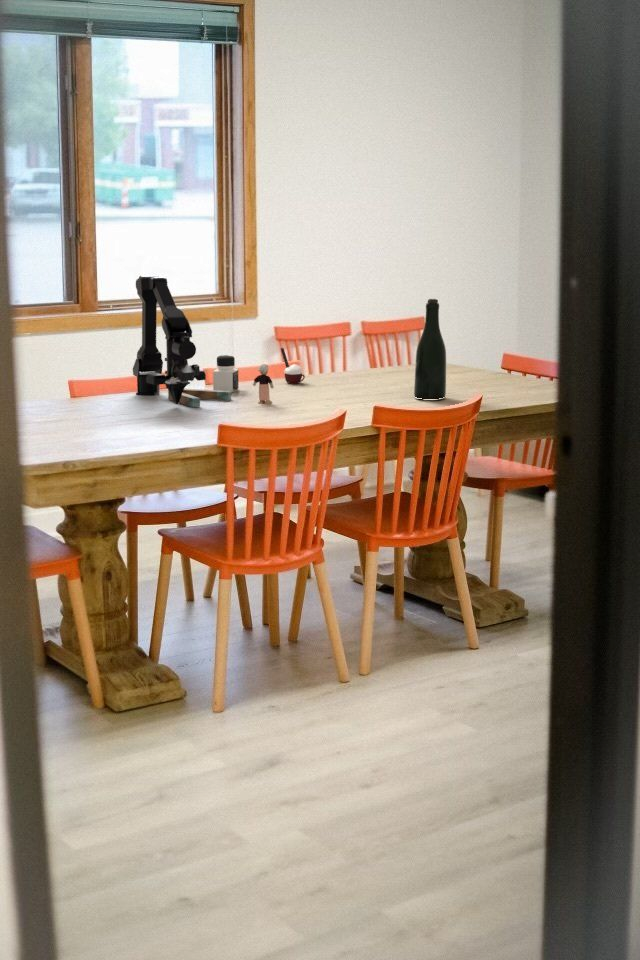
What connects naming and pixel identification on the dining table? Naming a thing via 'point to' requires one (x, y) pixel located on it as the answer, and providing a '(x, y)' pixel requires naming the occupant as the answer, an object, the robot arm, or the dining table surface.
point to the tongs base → (208, 394)
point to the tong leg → (188, 400)
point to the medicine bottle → (225, 374)
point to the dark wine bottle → (430, 357)
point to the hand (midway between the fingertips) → (176, 403)
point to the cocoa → (292, 371)
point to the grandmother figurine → (263, 384)
